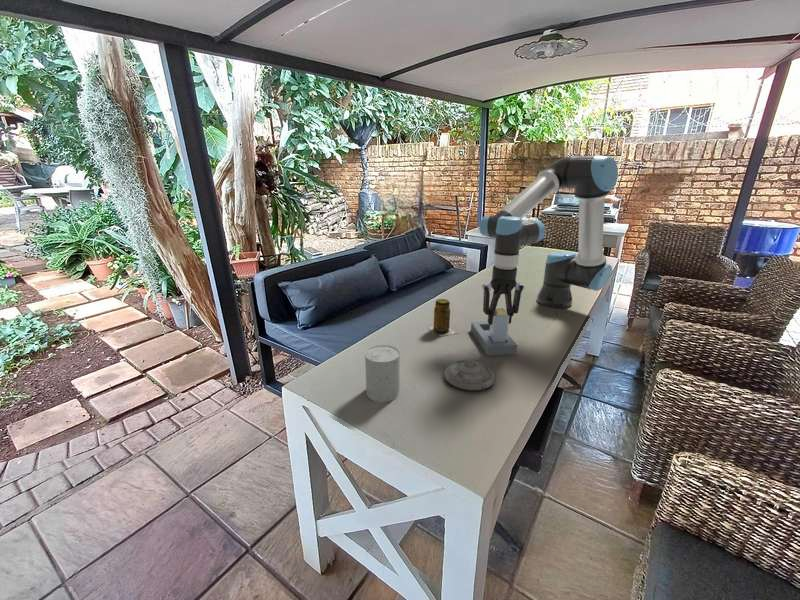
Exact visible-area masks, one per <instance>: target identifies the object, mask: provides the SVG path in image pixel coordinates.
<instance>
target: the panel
mask: <svg viewBox="0 0 800 600" xmlns="http://www.w3.org/2000/svg"><path fill="white" fill-rule="evenodd" d="M489 330H490V325H489V323H488V320H487V321H486V320H485V321H471V323H470V332H471V333H472V335H473V336H474V338H475V339H476V341H477V342H478V343H479V345H480V347H481V348H482V350H483V351H484V353H485V354H486V356H488V357H490V356H492V357H494V356H508V355H510V356H511V355H517V353H518V352H517V351H518V344H517V343H516V342H515V340H514V339H513V338H512V337H511V336H510V334H508V333H507V334H506V341H505V342H503V343H492V341H491V340H490V333H491V332H490V331H489Z"/></svg>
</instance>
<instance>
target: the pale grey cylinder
mask: <svg viewBox="0 0 800 600" xmlns="http://www.w3.org/2000/svg"><path fill="white" fill-rule="evenodd" d="M400 355H401V352H400V350H399V349H398V348H397V347H395V346H392V345H387V344H385V345H383V344H381V345H380V344H378V345H374V346H371V347H369V348H367V349H366V351H364V358H365V359H364V362H365V381H366V382H365V388H366V391H365V392H366V396H367V398H369V400H372V401H374V402H379V403H385V402H391V401H393V400H395V399H397V398H398V397H399V396H400V393H401V389H400V388H401V387H400V386H401V385H400V384H401V383H400V381H401V380H400V379H401V378H400V377H401V376H400V367H401V366H400V365H401V364H400V361H401V360H400V359H401V358H400V357H401V356H400Z"/></svg>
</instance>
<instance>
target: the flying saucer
mask: <svg viewBox="0 0 800 600" xmlns="http://www.w3.org/2000/svg"><path fill="white" fill-rule="evenodd" d="M443 375H444V379H445V380H446V381H447V382H448V384H449V385H452V386H454V388H458V389H461V390H464V391H465V390H466V391H481V390H485V389H488V388H491V386H492V385H493V384H494V383H495V380H496V376H495V374H494V372H493V370H491V368H490V367H489V366H487V365H485V364H484V363H482V362H479V361H477V360H471V359H462V360H457V361H454V362H453V363H452V362H451V363H450V364H449V365H447V367H446V368H445V370H444V372H443Z"/></svg>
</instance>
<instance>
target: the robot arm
mask: <svg viewBox="0 0 800 600" xmlns="http://www.w3.org/2000/svg"><path fill="white" fill-rule="evenodd" d="M618 178H619V167H618V163H617V161H616V160H615V159H614V158H613V157H612V156H609V155H599V154H598V155H581V156H580V155H579V156H576V155H569V156H565V157H563V158H561V159H557V160H556V161H554V162H552V163H551V164H549V165H548V166H546V167H545V168H544V169H542V170H541V171H540V172H539V173H538V174H537V175H536V179H535V180H533V181H532V182H531V183H530V184H528V186H527V187H526V188H524V189H523V190H522V191H520V193H518V194H517V196H515V197H514V198H513V199H512V200H510V202H508V203H507V204H505V206H504V207H502V208H501V209H500V210H499V211H498V212H497V213H495V214H494V215H492V214H491V215H484V216H483V217H482V218H481V219H480V221H479V225H478V227H479V232H480V234H481V235H482V236H484V237H487V238H490V239H495V242H494V243H495V245H494V253H493V266H492V274H491V280H490V282H489V283H487V284H482V290H483V301H482V303H483V304H482V307H483V308H482V311H483V313H484V314H485V315H487V321H488V323H489V325H490V330H489V331H490V332H491V334H494V330H495V319H496V316H495V315H494V313H495V309H497V307H498V303H499V299H500V298H501V295H504V298H505V310H506V311H507V314H508V322H507V331H506V334H508V333H509V324H510V325H511V323H512V317H513V316H514V314H518V313H519V309H520V302H521V298H522V296H521V295H522V292H523V290H524V288H525V286H524V285H523V284H521V283H520V282H519V283H518V282H517V281H516V278H517V273H518V268H517V267H518V265H519V263H518V262H519V256H520V255H519V254H520V253H519V252H520V247H523V246H526V245H534V244H535V243H539V242H541V241H542V240H543V239H544V238H545V235H546V226H545V224H544V223H543V222H542V221H541V220H537V219H530V220H524V219H523V218H525V217H526V216H528V214H530V212H531V211H532V210H533V209H535V208H536V207H537V206H538V205H539V204H540V203H541V202H543V201H544V200H545V199H546V198H547V197H548V196H549V195H552V194H556V192H557V191H559V190H562V189H572V190H574V197H575V198H576V199H577V200H578V254H576V253H574V252H567V251H565V252H564V251H563V252H560V251H559V252H552V253H549V254H548V255H547V257H546V260H545V267H544V273H543V274H544V275H543V282H542V286H541V287H540V289H539V291H538V293H537V297H536V302H537V303H539V304H540V305H543V306H546V307H550V308H557V309H558V308H559V309H563V308H564V309H565V308H569V307H571V306H572V305H573V296H572V290H571V286H576V287H579V288H583V289H587V290H589V291H590V290H591V291H596V292H597V291H600V290H602V289H603V288H605V287H606V285H607V284H608V282H609V281H610V278H611V277H612V272H613V267H612V265H611V264H609V263H607V257H606V256H605V255H604V254H603V248H604V247H603V243H604V240H603V239H604V226H605V225H604V223H605V221H604V219H605V200H606V199H605V198H606V197H607V196H608V195H609V194H610V191H611V190H613V189H614V188H615V186H616V184H617V180H618ZM491 289H493V292H492V297H491V301H490V295H491V293H490V291H491ZM513 290H514V294H513V299H512V291H513Z"/></svg>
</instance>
